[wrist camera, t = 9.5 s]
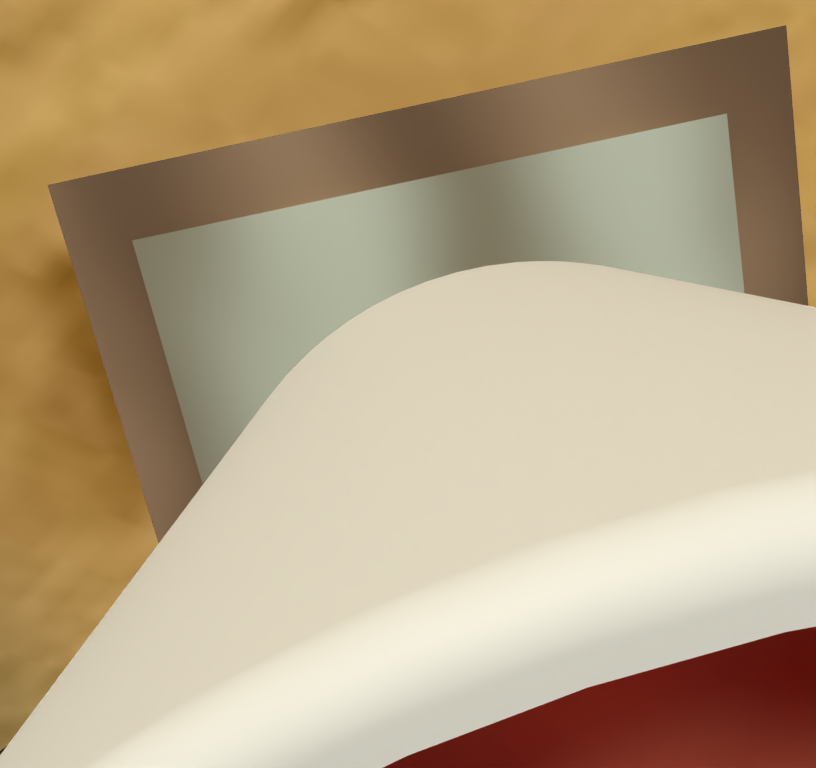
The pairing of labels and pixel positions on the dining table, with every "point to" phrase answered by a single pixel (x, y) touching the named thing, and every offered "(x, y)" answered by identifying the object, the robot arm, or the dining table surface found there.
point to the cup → (485, 547)
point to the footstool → (421, 227)
